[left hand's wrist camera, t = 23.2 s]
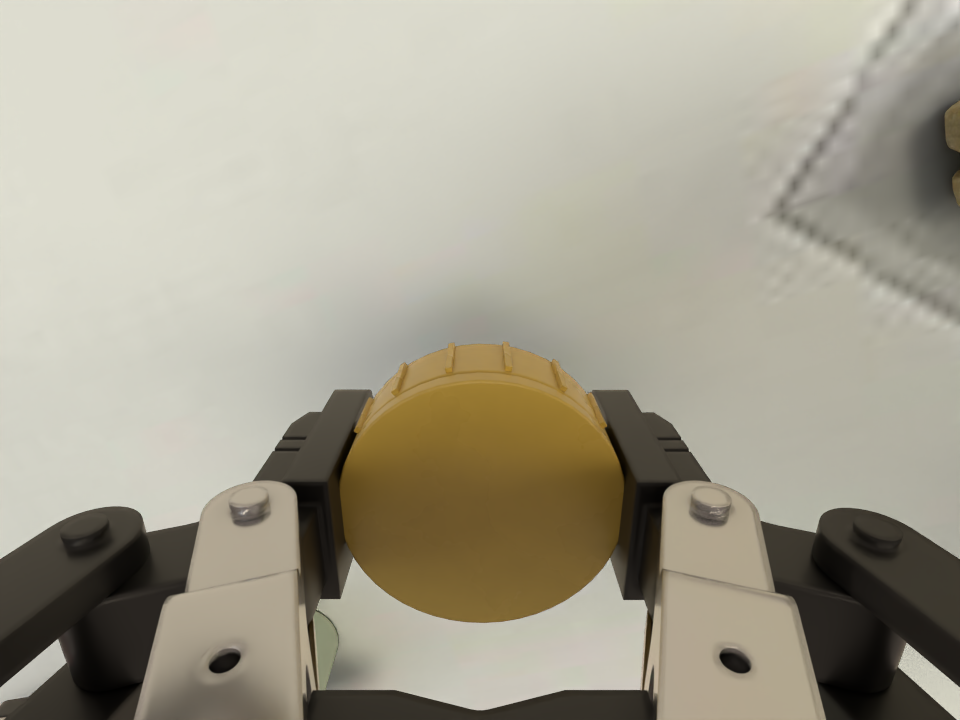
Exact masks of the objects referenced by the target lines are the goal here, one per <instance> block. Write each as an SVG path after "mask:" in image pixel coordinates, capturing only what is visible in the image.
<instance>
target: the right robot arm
mask: <svg viewBox="0 0 960 720" xmlns="http://www.w3.org/2000/svg"><path fill="white" fill-rule="evenodd" d="M27 698H28V697H27ZM27 698H20V699H14V700H8V701H5V702H3V703H2V704H1V705H0V720H4V719H5V718H6V717H7V716H8V715H9V714H10V713H12V712H13V711H14V710H15V709H16V708H17V707H18V706H19V705H20V704H22V703H23V702H24V701H25V700H26V699H27Z"/></svg>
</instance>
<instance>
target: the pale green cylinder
mask: <svg viewBox="0 0 960 720" xmlns="http://www.w3.org/2000/svg"><path fill="white" fill-rule="evenodd" d="M313 617H314V624H315V632H316V646H317V659H318V673H319V686H320V690H325V689H326V686H327V683H328V679H329V676H330V673H331V669H332V666H333V662H334V659H335V656H336V652H337V649H338V635H337V632H336V630H335V627H334V626H333V624H332V623H331V622H330V621H329V620H328V619H327V618H326V617H325V616H323V615H322V614H320V613H319V612H317V611H315V614H314V616H313Z"/></svg>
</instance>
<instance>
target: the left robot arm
mask: <svg viewBox="0 0 960 720" xmlns="http://www.w3.org/2000/svg"><path fill="white" fill-rule="evenodd" d="M591 393H592V394H593V396H594V398H595V400H596V402H597V405H598V407H599V409H600V411H601V413H602V416H603V418H604V420H605V422H606V425H607V427H605V430H606V432H607V435H608V437H609V439H610V442H611V444H612V446H613V448H614V451H615V453H616V455H617V458H618V460H619V462H620V466H621V469H622V472H623V475H624V493H623V502H622V511H621V520H620V530H619V538H618V543H617V545H616V547H615V549H614V551H613V553H612V555H611V557H610V558H611V562H612V565H613V568H614V571H615V574H616V578H617V581H618V584H619V587H620V590H621V593H622V597H623V600H645V603H646V606H647V609H648V610H647V617H646V624H645V632H644V646H643V659H642V673H641V686H640V690H564V691H560V692H556V693H552V694H548V695H544V696H540V697H536V698H532V699H528V700H524V701H521V702H517V703H513V704H509V705H505V706H501V707H497V708H493V709H489V710H471V709H467V708H463V707H459V706H455V705H451V704H447V703H443V702H439V701H436V700H432V699H428V698H424V697H420V696H416V695H412V694H408V693H404V692H400V691H396V690H320V686H319V673H318V659H317V646H316V632H315V624H314V617H313V616H314V614H315V611H316V608H317V605H318V603H319V600H320V599H340V598H341V595H342V592H343V589H344V585H345V582H346V579H347V576H348V572H349V569H350V566H351V562H352V559H353V555H352V553H351V551H350V550H349V548H348V546H347V543H346V541H345V535H344V526H343V517H342V507H341V498H340V487H339V480H340V477H341V473H342V469H343V466H344V463H345V461H346V459H347V456H348V454H349V452H350V449H351V447H352V444H353V442H354V440H355V437H356V435H357V433H356V432H354V429H355V427H356V425H357V422H358V420H359V418H360V416H361V413H362V411H363V409H364V406H365V404H366V402H367V400H368V398H369V397H371V398H372V399H373V395H372V392H371V390H335V391H334V392H333V394H332V395H331V397H330V399H329V400H328V402H327V404H326V405H325V407H324V409H323V411H322V412H309V413H307V414H306V415H304V416H303V417H301V418H299V419H298V420H296V421H295V422H293V423H292V424H291V425H290V427H289V428H288V430H287V431H286V433H285V434H284V436H283V437H282V440H280V442H279V443H278V445H277V446H276V448H275V451H273V452H272V453H271V455H270V456H269V458H268V459H267V461H266V462H265V464H264V465H263V467H262V468H261V470H260V471H259V473H258V474H257V476H256V477H255V479H254V480H253V482H248V483H244V484H240V485H237V486H234V487H232V488H229V489H227V490H225V491H223V492H221V493H220V494H218V495H216V496H215V497H214V498H213V499H211V500H210V501H209V502H208V503H207V504H206V505H205V507H204V508H203V510H202V513H201V517H200V521H199V522H196V523H192V524H188V525H183V526H178V527H173V528H168V529H163V530H158V531H152V532H147V533H146V529H145V526H144V522H143V518H142V516H141V514H140V513H139V512H138V511H136V510H134V509H131V508H128V507H103V508H98V509H93V510H89V511H85V512H82V513H79V514H76V515H74V516H71V517H69V518H66V519H64V520H62V521H60V522H58V523H56V524H55V525H53V526H51V527H50V528H48V529H47V530H45V531H43V532H42V533H40V534H39V535H37V536H36V537H34V538H33V539H31V540H30V541H28V542H26V543H25V544H23V545H22V546H20V547H19V548H17V549H16V550H14V551H12V552H11V553H9V554H8V555H6V556H5V557H3V558H2V559H0V687H1V686H2V685H3V684H5V683H6V682H7V681H8V680H9V679H11V678H12V677H13V676H14V675H15V674H16V673H18V672H19V671H20V670H21V669H22V668H24V667H25V666H26V665H27V664H28V663H30V662H31V661H32V660H33V659H34V658H35V657H37V656H38V655H39V654H40V653H41V652H43V651H44V650H45V649H46V648H47V647H48V646H50V645H51V644H52V643H53V642H54V641H56V640H57V639H59V642H60V645H61V648H62V651H63V653H64V656H65V659H66V662H67V663H66V664H65V665H64V666H63V667H62V668H61V669H59V670H58V671H57V672H56V673H55V674H54V675H53V676H52V677H51V678H49V679H48V680H47V681H46V682H45V683H44V684H43V685H42V686H41V687H39V688H38V689H37V690H36V691H35V692H34V693H33V694H32V695H31V696H29V697H28V698H27V699H26V700H25V701H24V702H23V703H22V704H20V705H19V706H18V707H17V708H16V709H15V710H14V711H13V712H12V713H10V714H9V715H8V716H7V717H6V718H5V719H4V720H956V719H955V718H954V717H953V716H952V715H951V714H950V713H948V712H947V711H946V710H945V709H944V708H943V707H942V706H941V705H940V704H938V703H937V702H936V701H935V700H934V699H933V698H932V697H931V696H930V695H928V694H927V693H926V692H925V691H924V690H923V689H922V688H921V687H919V686H918V685H917V684H916V683H915V682H914V681H913V680H912V679H911V678H909V677H908V676H907V675H906V674H905V673H904V672H903V671H902V670H901V669H899V668H898V665H899V662H900V659H901V656H902V654H903V651H904V648H905V645H906V643H908V644H909V645H910V646H912V647H913V648H914V649H915V650H916V651H917V652H919V653H920V654H921V655H922V656H923V657H925V658H926V659H927V660H928V661H929V662H931V663H932V664H933V665H934V666H935V667H936V668H938V669H939V670H940V671H941V672H942V673H944V674H945V675H946V676H947V677H948V678H949V679H951V680H952V681H953V682H954V683H955V684H957V685H958V686H959V687H960V559H958V558H957V557H955V556H954V555H952V554H951V553H949V552H948V551H946V550H944V549H943V548H941V547H940V546H938V545H937V544H935V543H934V542H932V541H931V540H929V539H927V538H926V537H924V536H923V535H921V534H920V533H918V532H917V531H915V530H913V529H912V528H910V527H908V526H907V525H905V524H903V523H901V522H899V521H897V520H895V519H892V518H890V517H887V516H885V515H882V514H879V513H875V512H871V511H867V510H862V509H855V508H837V509H832V510H829V511H827V512H825V513H824V514H823V515H822V516H821V518H820V520H819V524H818V527H817V531H816V533H813V532H808V531H803V530H798V529H793V528H788V527H782V526H778V525H773V524H769V523H766V522H763V521H760V517H759V513H758V510H757V508H756V507H755V505H754V504H753V503H752V502H751V501H750V500H749V499H747V498H746V497H745V496H744V495H742V494H740V493H739V492H737V491H735V490H733V489H731V488H728V487H726V486H723V485H720V484H716V483H712V482H711V481H710V479H709V478H708V477H707V475H706V474H705V472H704V471H703V469H702V468H701V466H700V465H699V463H698V462H697V460H696V459H695V457H694V456H693V455H692V453H691V452H689V449H688V447H687V446H686V444H685V443H684V441H683V440H681V437H680V435H679V434H678V433H677V431H676V430H675V428H674V427H673V425H672V424H671V423H669V422H668V421H666V420H665V419H663V418H661V417H660V416H658V415H657V414H655V413H642V412H641V410H640V409H639V407H638V405H637V404H636V402H635V400H634V399H633V397H632V395H631V394H630V392H629V391H628V390H593V391H592V392H591Z"/></svg>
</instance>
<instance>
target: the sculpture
mask: <svg viewBox="0 0 960 720" xmlns="http://www.w3.org/2000/svg"><path fill="white" fill-rule="evenodd" d="M945 136H946V142H947V145H948V147H949V148H950V149H953V150H955V151H957V152H959V153H960V101H958V102H957V103H955V104H954V105H952V106H951V107H950V108H949V109H948V110H947V111H946V113H945ZM952 185H953V192H954V195H955V198H956V201H957V204H958V205H959V207H960V169H959V170H958V171H957V172H956V173H955V174H954V176H953V177H952Z"/></svg>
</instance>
